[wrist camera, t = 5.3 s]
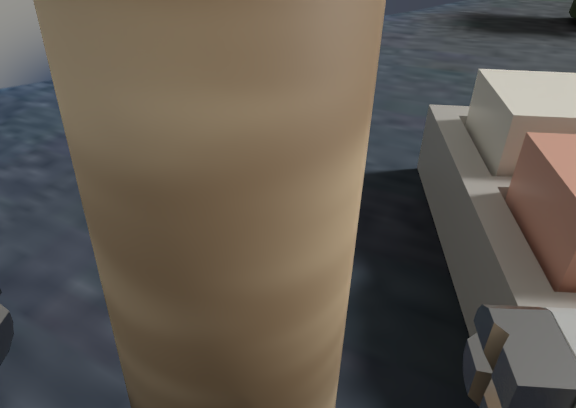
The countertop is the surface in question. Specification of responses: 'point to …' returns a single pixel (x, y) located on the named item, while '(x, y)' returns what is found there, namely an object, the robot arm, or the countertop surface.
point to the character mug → (573, 9)
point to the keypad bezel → (478, 222)
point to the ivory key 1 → (518, 112)
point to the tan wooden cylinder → (220, 185)
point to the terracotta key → (548, 204)
